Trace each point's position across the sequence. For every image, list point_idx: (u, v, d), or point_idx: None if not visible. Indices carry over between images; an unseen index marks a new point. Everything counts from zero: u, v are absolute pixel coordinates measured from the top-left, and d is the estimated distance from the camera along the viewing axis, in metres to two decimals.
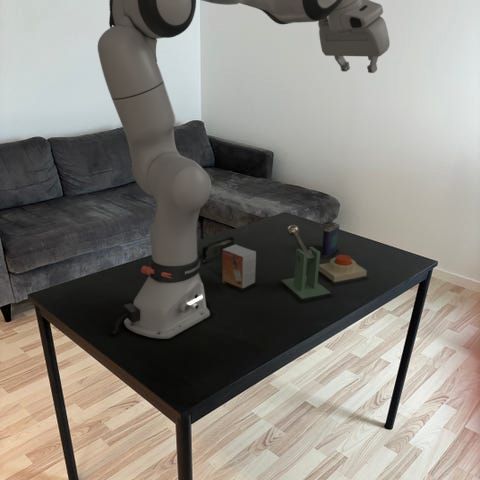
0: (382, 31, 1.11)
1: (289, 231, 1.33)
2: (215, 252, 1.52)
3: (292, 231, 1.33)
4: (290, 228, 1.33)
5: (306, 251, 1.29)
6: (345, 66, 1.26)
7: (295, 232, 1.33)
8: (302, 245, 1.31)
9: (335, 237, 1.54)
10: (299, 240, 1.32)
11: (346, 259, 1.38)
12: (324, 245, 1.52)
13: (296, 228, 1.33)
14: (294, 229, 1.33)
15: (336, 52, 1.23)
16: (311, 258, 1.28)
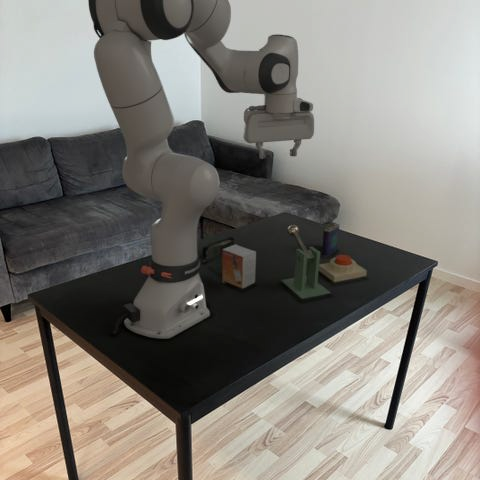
0: None
1: (289, 231, 1.33)
2: (215, 252, 1.52)
3: (292, 231, 1.33)
4: (290, 228, 1.33)
5: (306, 251, 1.29)
6: None
7: (295, 232, 1.33)
8: (302, 245, 1.31)
9: (335, 237, 1.54)
10: (299, 240, 1.32)
11: (346, 259, 1.38)
12: (324, 245, 1.52)
13: (296, 228, 1.33)
14: (294, 229, 1.33)
15: (266, 138, 1.31)
16: (311, 258, 1.28)
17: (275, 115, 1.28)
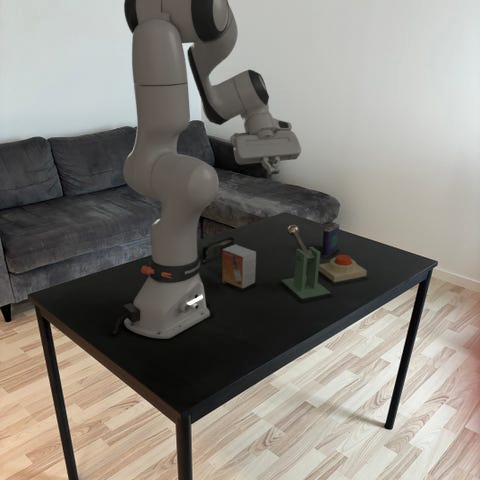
0: None
1: (289, 231, 1.33)
2: (215, 252, 1.52)
3: (292, 231, 1.33)
4: (290, 228, 1.33)
5: (306, 251, 1.29)
6: None
7: (295, 232, 1.33)
8: (302, 245, 1.31)
9: (335, 237, 1.54)
10: (299, 240, 1.32)
11: (346, 259, 1.38)
12: (324, 245, 1.52)
13: (296, 228, 1.33)
14: (294, 229, 1.33)
15: (256, 153, 1.36)
16: (311, 258, 1.28)
17: (259, 134, 1.38)
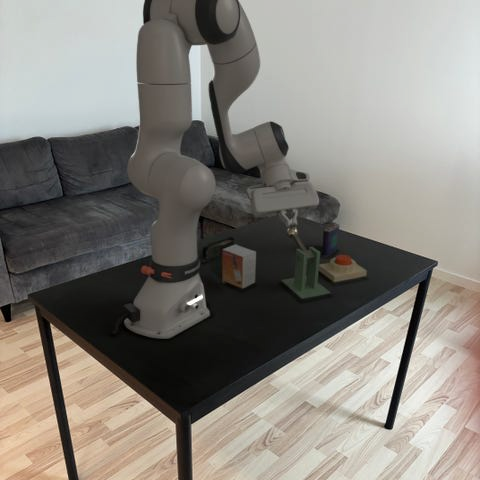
0: None
1: (288, 233, 1.34)
2: (215, 252, 1.52)
3: (291, 233, 1.33)
4: (289, 230, 1.34)
5: (306, 251, 1.29)
6: None
7: (294, 234, 1.33)
8: (302, 246, 1.31)
9: (335, 237, 1.54)
10: (299, 241, 1.32)
11: (346, 259, 1.38)
12: (324, 245, 1.52)
13: (295, 230, 1.33)
14: (293, 231, 1.33)
15: (274, 206, 1.32)
16: (311, 258, 1.28)
17: (276, 186, 1.34)
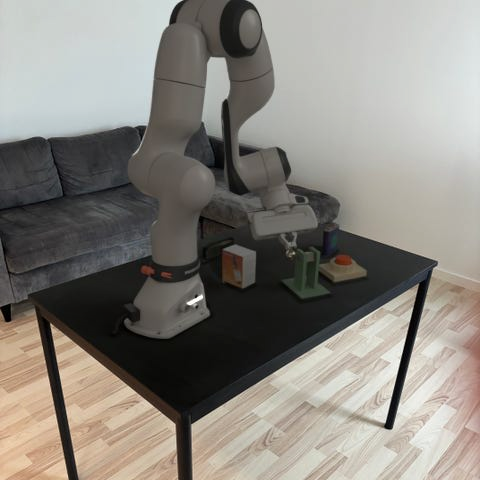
0: None
1: (286, 255, 1.38)
2: (215, 252, 1.52)
3: (289, 253, 1.37)
4: (286, 252, 1.38)
5: None
6: None
7: (292, 253, 1.37)
8: None
9: (335, 237, 1.54)
10: None
11: (346, 259, 1.38)
12: (324, 245, 1.52)
13: (292, 250, 1.38)
14: (290, 251, 1.37)
15: (273, 230, 1.36)
16: (311, 253, 1.28)
17: (276, 210, 1.37)
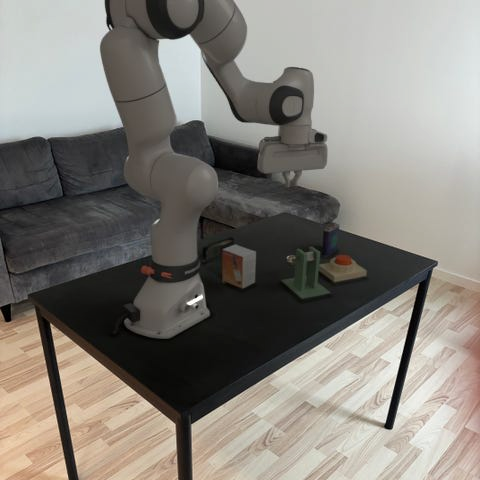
0: None
1: (287, 260, 1.38)
2: (215, 252, 1.52)
3: (289, 257, 1.37)
4: (287, 257, 1.38)
5: None
6: None
7: (292, 257, 1.37)
8: None
9: (335, 237, 1.54)
10: None
11: (346, 259, 1.38)
12: (324, 245, 1.52)
13: (292, 255, 1.38)
14: (290, 256, 1.38)
15: (280, 168, 1.30)
16: (310, 253, 1.28)
17: (290, 146, 1.27)
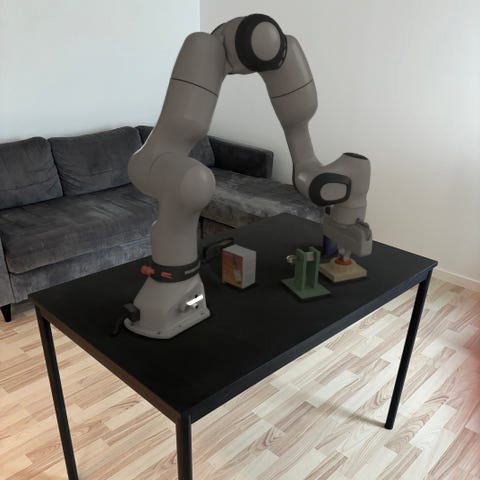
0: None
1: (287, 260, 1.38)
2: (215, 252, 1.52)
3: (289, 257, 1.37)
4: (287, 257, 1.38)
5: None
6: None
7: (292, 257, 1.37)
8: None
9: None
10: None
11: (345, 262, 1.39)
12: (324, 245, 1.52)
13: (292, 255, 1.38)
14: (290, 256, 1.38)
15: None
16: (310, 253, 1.28)
17: None
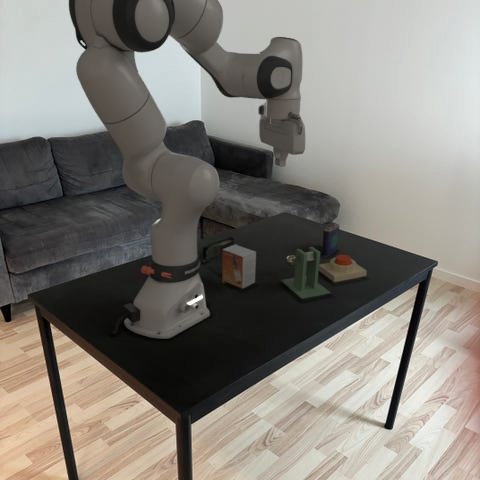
0: None
1: (287, 260, 1.38)
2: (215, 252, 1.51)
3: (289, 257, 1.37)
4: (287, 257, 1.38)
5: None
6: None
7: (292, 257, 1.37)
8: None
9: (335, 237, 1.54)
10: None
11: (346, 259, 1.38)
12: (324, 245, 1.52)
13: (292, 255, 1.38)
14: (290, 256, 1.38)
15: None
16: (310, 253, 1.28)
17: None
